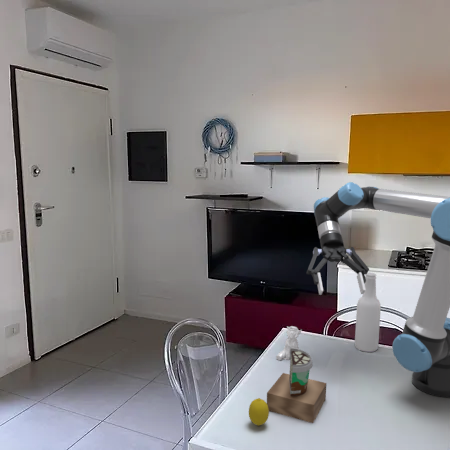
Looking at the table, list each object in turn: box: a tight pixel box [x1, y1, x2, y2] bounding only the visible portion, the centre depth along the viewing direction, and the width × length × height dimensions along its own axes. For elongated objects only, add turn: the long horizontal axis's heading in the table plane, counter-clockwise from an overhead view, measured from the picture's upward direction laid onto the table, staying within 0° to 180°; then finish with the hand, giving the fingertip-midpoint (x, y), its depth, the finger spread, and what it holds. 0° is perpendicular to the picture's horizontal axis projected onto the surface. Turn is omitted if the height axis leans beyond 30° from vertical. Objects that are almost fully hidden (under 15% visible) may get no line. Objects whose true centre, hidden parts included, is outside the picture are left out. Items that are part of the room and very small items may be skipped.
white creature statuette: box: [275, 325, 303, 361], centre depth 168 cm, size 10×9×12 cm
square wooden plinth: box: [266, 372, 327, 424], centre depth 136 cm, size 14×14×6 cm
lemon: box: [248, 397, 270, 426], centre depth 125 cm, size 6×6×8 cm
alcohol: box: [354, 272, 382, 353], centre depth 176 cm, size 9×9×30 cm
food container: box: [289, 348, 313, 396], centre depth 135 cm, size 12×6×10 cm, turn 174°
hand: (342, 292), depth 144 cm, fingers open, 13 cm apart
